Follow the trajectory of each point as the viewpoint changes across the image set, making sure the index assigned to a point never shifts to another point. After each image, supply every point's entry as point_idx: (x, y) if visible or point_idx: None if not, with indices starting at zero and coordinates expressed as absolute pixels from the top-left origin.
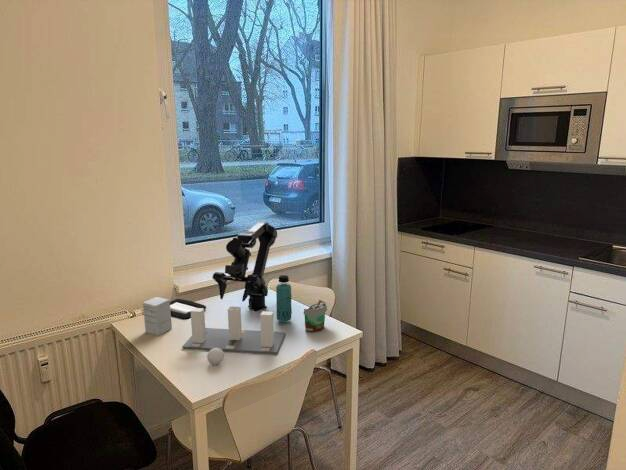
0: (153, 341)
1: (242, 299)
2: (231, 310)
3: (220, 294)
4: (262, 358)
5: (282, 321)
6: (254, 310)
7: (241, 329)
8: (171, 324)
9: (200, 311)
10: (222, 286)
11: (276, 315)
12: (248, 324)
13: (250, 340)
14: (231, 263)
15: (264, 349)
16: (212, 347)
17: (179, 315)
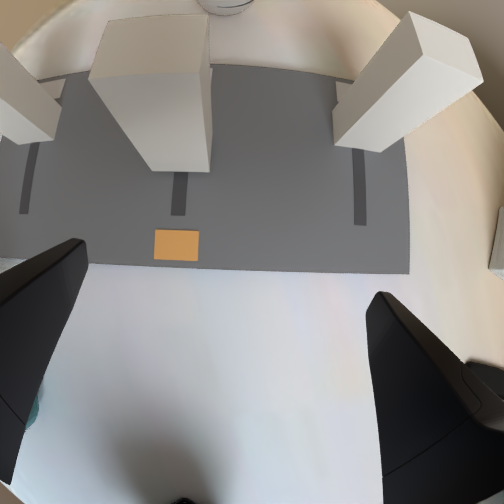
0: (492, 165)
1: (75, 243)
2: (171, 18)
3: (413, 319)
4: (67, 57)
5: None
6: (186, 500)
7: (142, 155)
8: (501, 267)
9: (413, 14)
10: (454, 416)
11: (34, 408)
12: (167, 366)
13: (107, 149)
14: None
15: (52, 87)
16: (273, 74)
17: (490, 376)
